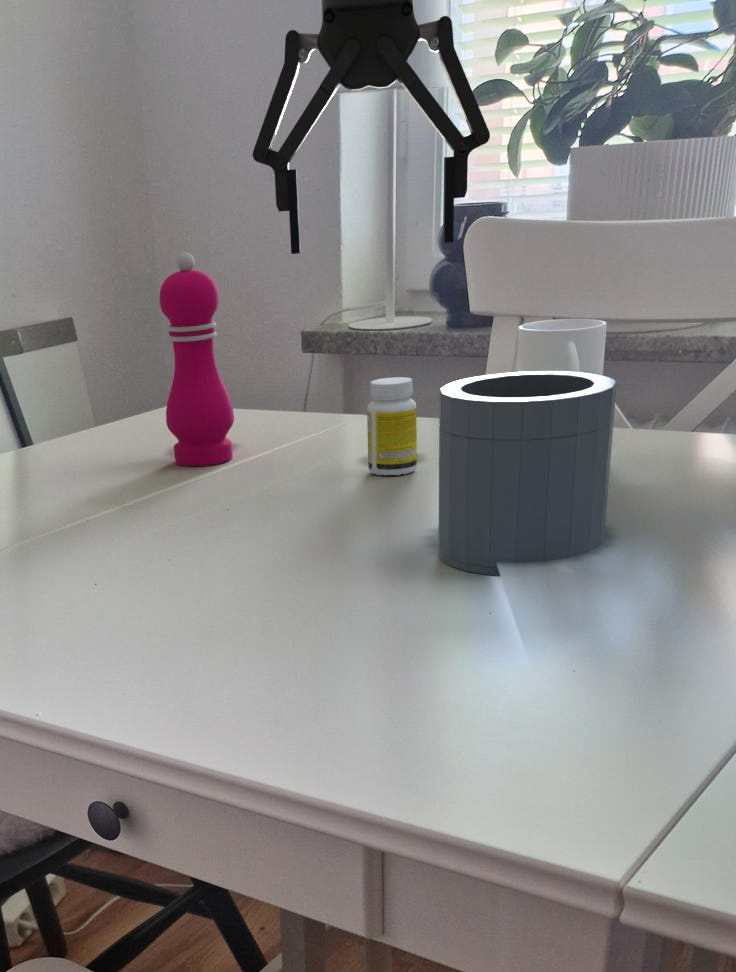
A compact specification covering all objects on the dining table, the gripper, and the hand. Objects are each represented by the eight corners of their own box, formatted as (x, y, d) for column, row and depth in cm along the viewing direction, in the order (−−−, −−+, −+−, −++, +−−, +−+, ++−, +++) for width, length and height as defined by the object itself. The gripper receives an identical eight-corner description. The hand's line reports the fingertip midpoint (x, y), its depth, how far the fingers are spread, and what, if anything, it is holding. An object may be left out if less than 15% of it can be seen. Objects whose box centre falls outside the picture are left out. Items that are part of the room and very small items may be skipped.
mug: (609, 471, 108) (620, 332, 102) (516, 475, 109) (521, 338, 103) (593, 444, 118) (603, 315, 112) (508, 448, 119) (512, 321, 113)
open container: (587, 526, 94) (599, 366, 87) (616, 572, 83) (631, 395, 77) (434, 533, 95) (435, 377, 89) (443, 580, 84) (445, 406, 78)
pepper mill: (204, 470, 121) (184, 255, 111) (156, 464, 125) (133, 256, 115) (251, 456, 125) (236, 248, 115) (203, 450, 130) (185, 249, 120)
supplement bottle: (426, 470, 114) (426, 378, 110) (389, 479, 112) (388, 386, 108) (395, 463, 118) (394, 374, 113) (358, 472, 115) (356, 382, 111)
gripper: (208, -40, 92) (229, 260, 102) (530, -73, 89) (517, 239, 100) (218, -28, 98) (238, 254, 109) (519, -57, 95) (508, 234, 106)
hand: (371, 247), depth 104 cm, fingers open, 13 cm apart
